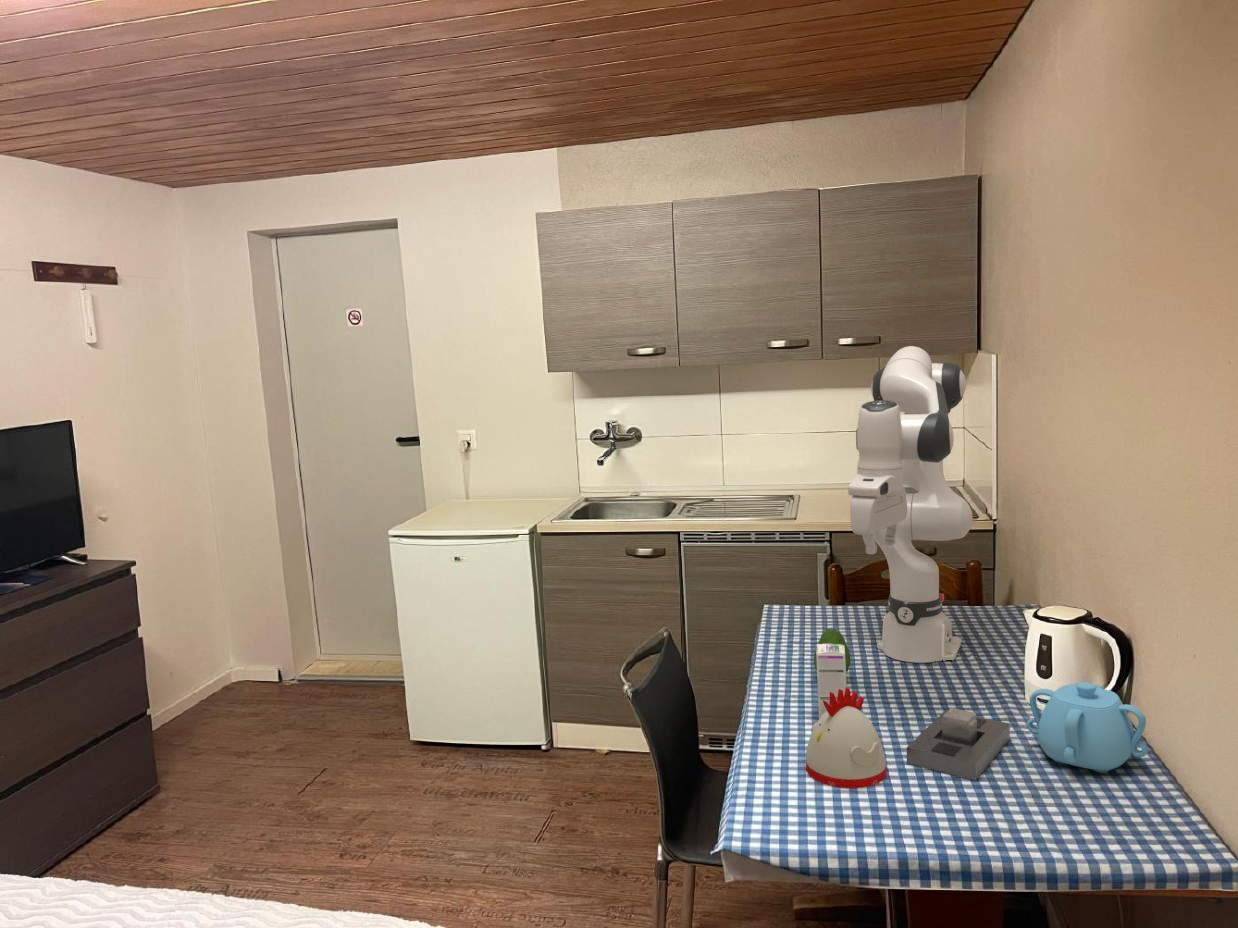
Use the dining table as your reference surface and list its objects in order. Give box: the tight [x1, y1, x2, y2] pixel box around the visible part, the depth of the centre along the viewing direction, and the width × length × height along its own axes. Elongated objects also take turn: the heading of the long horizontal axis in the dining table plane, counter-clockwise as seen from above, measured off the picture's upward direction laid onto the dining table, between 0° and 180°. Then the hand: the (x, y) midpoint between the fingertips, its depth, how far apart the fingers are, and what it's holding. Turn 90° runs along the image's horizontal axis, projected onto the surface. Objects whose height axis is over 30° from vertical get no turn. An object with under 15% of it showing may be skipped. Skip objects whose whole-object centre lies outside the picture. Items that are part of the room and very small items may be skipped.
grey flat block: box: [906, 709, 1011, 782], centre depth 165 cm, size 20×12×3 cm, turn 141°
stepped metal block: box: [942, 707, 977, 747], centre depth 165 cm, size 4×5×7 cm
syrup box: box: [815, 643, 848, 720], centre depth 182 cm, size 6×6×14 cm
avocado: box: [813, 627, 851, 674], centre depth 203 cm, size 8×8×12 cm
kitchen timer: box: [805, 686, 887, 789], centre depth 160 cm, size 14×14×15 cm
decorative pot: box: [1026, 681, 1149, 774], centre depth 160 cm, size 16×16×14 cm
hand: (880, 548), depth 184 cm, fingers open, 8 cm apart
